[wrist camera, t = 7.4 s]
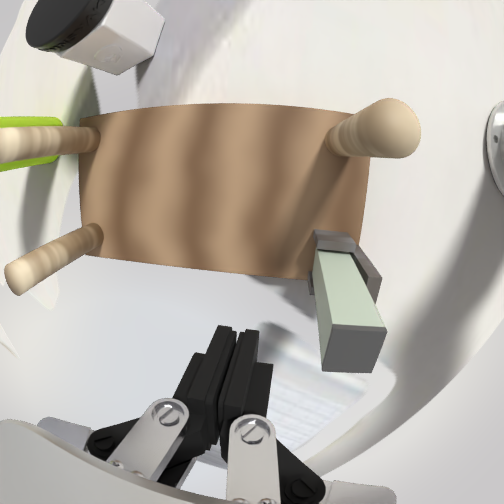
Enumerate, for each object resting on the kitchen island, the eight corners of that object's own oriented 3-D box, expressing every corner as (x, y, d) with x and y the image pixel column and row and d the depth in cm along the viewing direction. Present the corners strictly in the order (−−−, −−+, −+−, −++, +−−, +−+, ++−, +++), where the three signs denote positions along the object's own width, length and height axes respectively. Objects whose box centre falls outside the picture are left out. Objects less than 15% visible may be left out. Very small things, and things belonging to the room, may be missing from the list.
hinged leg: (315, 242, 23) (345, 246, 23) (311, 271, 24) (340, 274, 24) (333, 328, 11) (387, 331, 11) (322, 371, 12) (371, 373, 12)
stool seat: (366, 120, 21) (446, 90, 8) (346, 275, 27) (388, 373, 13) (91, 119, 24) (-11, 117, 11) (95, 249, 29) (10, 304, 16)
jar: (102, 87, 23) (21, 71, 11) (92, 36, 20) (23, 9, 9) (174, 48, 21) (109, -2, 10) (158, -3, 19) (102, -54, 7)
